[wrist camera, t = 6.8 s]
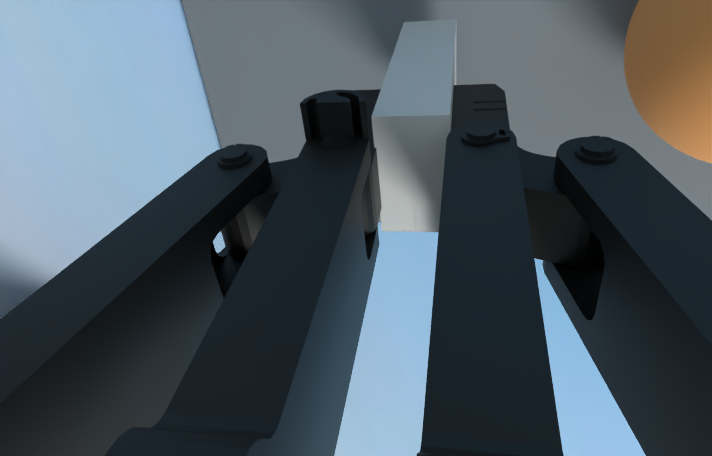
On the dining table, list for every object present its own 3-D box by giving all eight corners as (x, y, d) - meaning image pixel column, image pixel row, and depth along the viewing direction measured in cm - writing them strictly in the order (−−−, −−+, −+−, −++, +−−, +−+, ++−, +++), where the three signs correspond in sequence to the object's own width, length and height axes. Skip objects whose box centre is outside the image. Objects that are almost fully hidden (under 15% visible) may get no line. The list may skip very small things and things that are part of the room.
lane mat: (242, 217, 23) (240, 220, 22) (139, -167, 15) (136, -167, 15) (925, 225, 18) (930, 229, 18) (1262, -324, 10) (1275, -327, 10)
